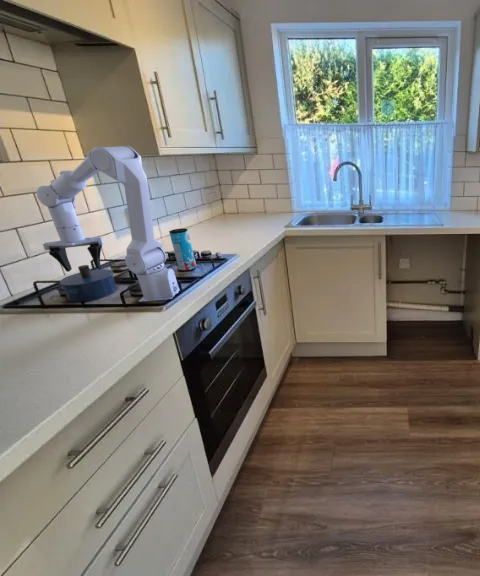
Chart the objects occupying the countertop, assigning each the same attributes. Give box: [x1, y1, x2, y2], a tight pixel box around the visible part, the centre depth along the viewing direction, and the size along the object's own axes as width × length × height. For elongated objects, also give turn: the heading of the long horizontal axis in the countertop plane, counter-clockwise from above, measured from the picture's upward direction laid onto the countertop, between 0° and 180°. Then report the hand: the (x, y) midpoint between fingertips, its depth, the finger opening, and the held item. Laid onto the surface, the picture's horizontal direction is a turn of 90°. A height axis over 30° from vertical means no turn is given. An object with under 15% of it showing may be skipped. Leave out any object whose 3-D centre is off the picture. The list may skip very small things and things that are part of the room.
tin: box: [62, 274, 118, 303], centre depth 116 cm, size 13×18×5 cm
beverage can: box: [168, 228, 197, 272], centre depth 133 cm, size 6×6×15 cm
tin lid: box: [59, 264, 114, 287], centre depth 114 cm, size 14×14×5 cm
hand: (84, 268), depth 113 cm, fingers open, 7 cm apart
